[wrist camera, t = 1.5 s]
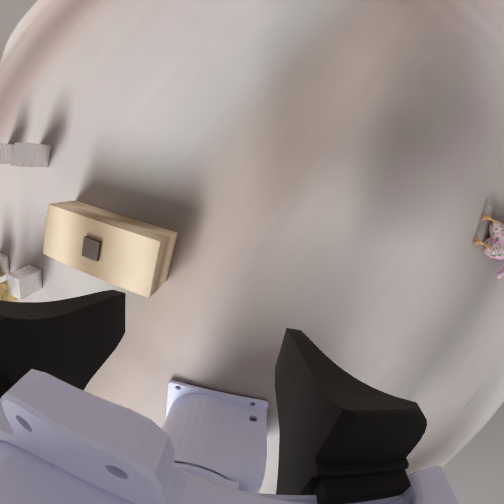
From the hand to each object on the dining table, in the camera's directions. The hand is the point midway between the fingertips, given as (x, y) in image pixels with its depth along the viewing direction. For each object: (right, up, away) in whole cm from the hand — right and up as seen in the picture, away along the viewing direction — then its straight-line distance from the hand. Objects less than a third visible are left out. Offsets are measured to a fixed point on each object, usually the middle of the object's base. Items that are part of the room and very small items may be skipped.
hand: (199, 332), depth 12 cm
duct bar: (-9, +5, +10) cm, 14 cm away
